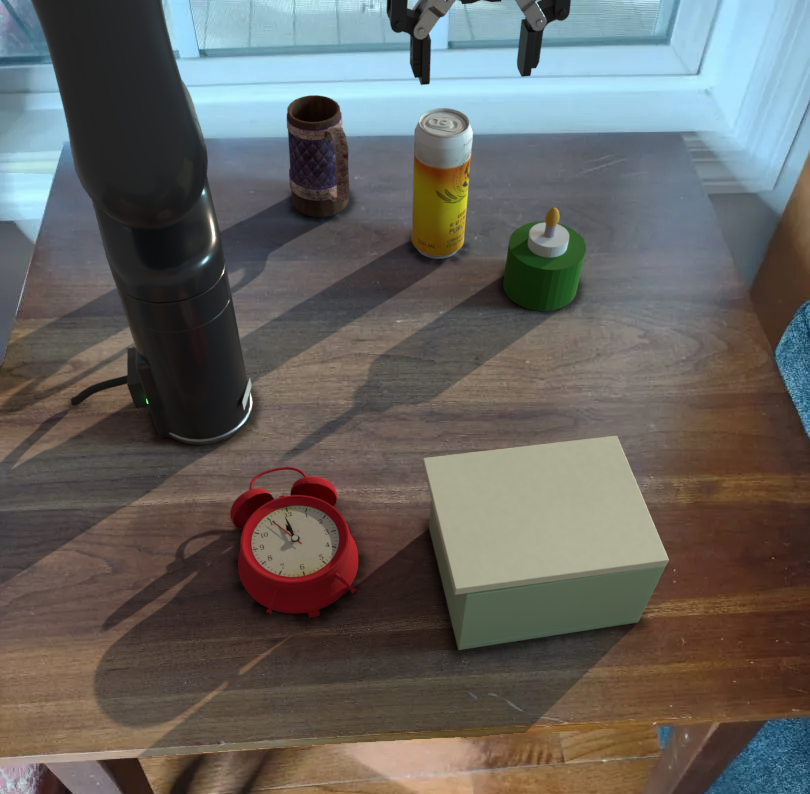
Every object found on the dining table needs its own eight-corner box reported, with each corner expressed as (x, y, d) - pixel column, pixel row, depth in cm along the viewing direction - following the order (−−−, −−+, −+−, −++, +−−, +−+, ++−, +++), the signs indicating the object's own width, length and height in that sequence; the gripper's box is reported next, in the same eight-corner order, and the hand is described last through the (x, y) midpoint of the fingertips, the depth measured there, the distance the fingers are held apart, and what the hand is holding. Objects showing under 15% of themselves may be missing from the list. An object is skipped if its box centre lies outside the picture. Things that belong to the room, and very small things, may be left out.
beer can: (458, 265, 99) (468, 141, 87) (406, 257, 100) (409, 134, 87) (467, 232, 103) (477, 109, 90) (416, 225, 103) (420, 102, 91)
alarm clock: (249, 619, 68) (209, 455, 73) (255, 640, 74) (218, 487, 79) (375, 586, 70) (328, 429, 75) (372, 610, 76) (328, 462, 81)
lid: (454, 595, 64) (455, 589, 63) (422, 464, 71) (423, 457, 70) (666, 566, 66) (669, 560, 65) (614, 441, 73) (616, 435, 72)
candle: (488, 280, 98) (497, 202, 89) (542, 253, 101) (556, 175, 92) (536, 321, 94) (551, 243, 86) (591, 291, 97) (611, 213, 89)
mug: (282, 194, 106) (271, 97, 96) (334, 178, 108) (329, 83, 98) (317, 240, 101) (309, 144, 91) (371, 223, 103) (369, 127, 93)
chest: (458, 650, 71) (466, 595, 64) (428, 527, 78) (433, 465, 71) (638, 622, 73) (666, 566, 66) (593, 504, 80) (614, 442, 73)
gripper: (577, -188, 61) (545, 47, 75) (379, -179, 60) (382, 59, 74) (607, -149, 57) (567, 93, 71) (395, -138, 56) (395, 107, 69)
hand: (473, 76), depth 72 cm, fingers open, 8 cm apart
